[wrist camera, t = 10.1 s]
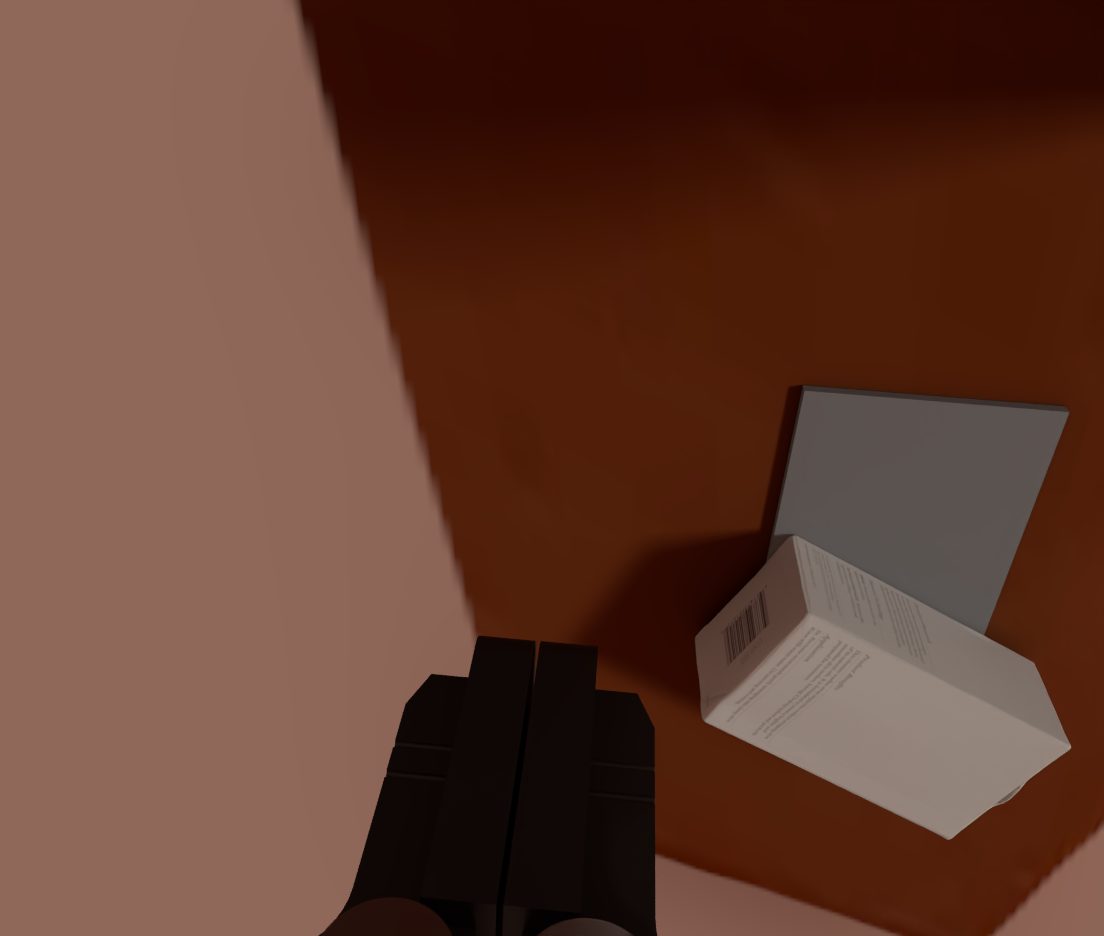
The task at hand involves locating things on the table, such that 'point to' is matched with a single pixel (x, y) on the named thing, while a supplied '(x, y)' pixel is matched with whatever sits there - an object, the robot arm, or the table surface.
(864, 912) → the table surface
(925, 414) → the flat gray panel
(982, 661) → the skincare box
